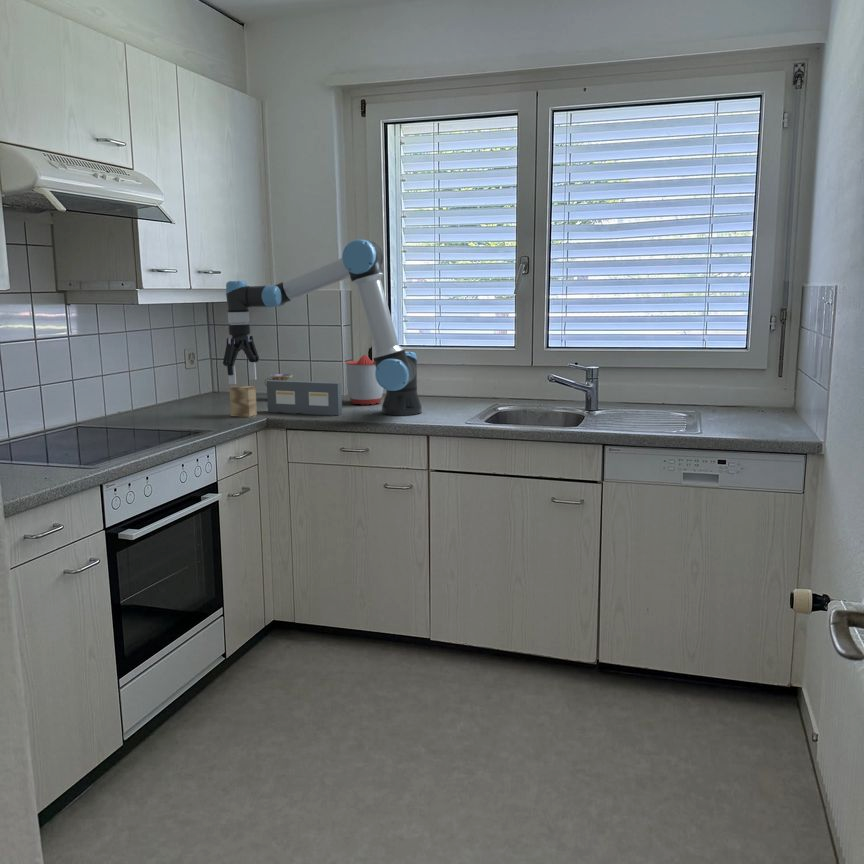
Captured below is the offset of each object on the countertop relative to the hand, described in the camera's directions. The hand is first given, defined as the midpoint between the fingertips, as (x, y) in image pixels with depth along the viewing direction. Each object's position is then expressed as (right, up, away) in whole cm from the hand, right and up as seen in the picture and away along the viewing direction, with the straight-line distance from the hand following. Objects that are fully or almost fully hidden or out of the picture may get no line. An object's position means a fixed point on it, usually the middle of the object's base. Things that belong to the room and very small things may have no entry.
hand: (242, 381), depth 289 cm
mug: (+5, -5, +42) cm, 43 cm away
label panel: (+22, -11, +7) cm, 26 cm away
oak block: (0, -13, +2) cm, 13 cm away
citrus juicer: (+44, -7, +31) cm, 54 cm away
